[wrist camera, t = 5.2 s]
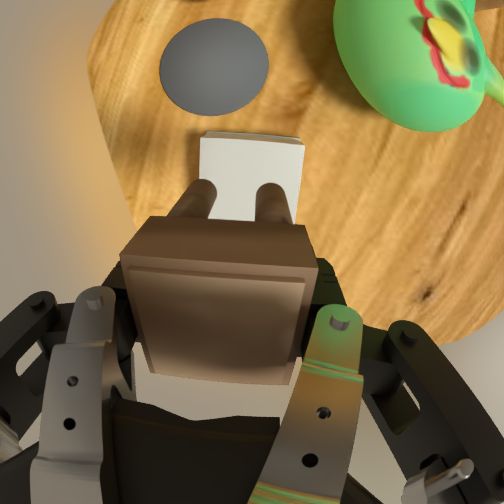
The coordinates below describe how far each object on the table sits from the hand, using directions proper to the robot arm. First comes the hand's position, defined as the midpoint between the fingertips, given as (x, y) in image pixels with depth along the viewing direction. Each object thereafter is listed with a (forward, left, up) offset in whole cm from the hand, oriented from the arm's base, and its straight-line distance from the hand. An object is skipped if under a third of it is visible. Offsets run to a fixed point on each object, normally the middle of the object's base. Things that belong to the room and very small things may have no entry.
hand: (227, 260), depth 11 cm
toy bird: (-15, +16, -23) cm, 32 cm away
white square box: (+3, +1, -23) cm, 23 cm away
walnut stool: (0, 0, -3) cm, 3 cm away
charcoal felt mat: (-10, -4, -23) cm, 26 cm away
